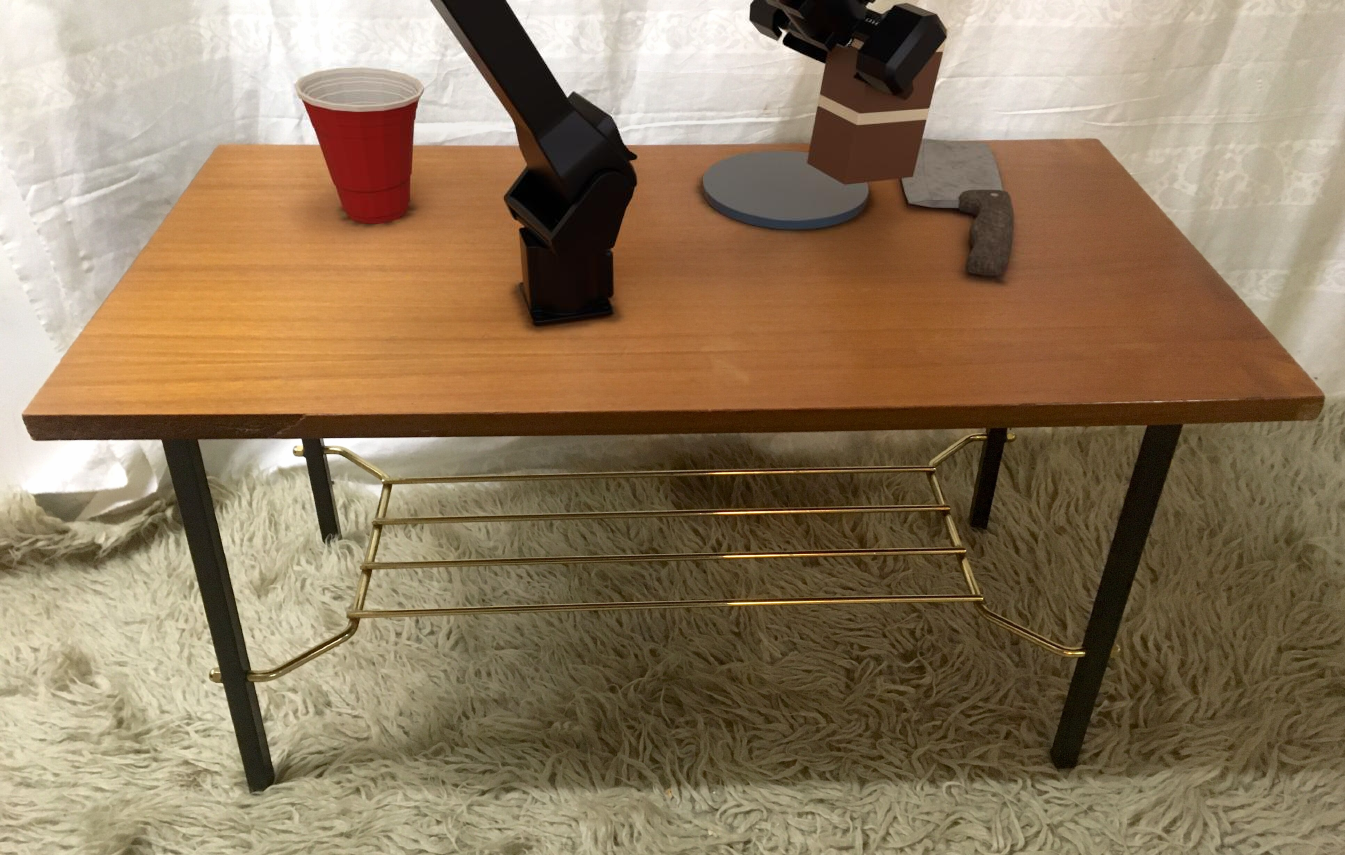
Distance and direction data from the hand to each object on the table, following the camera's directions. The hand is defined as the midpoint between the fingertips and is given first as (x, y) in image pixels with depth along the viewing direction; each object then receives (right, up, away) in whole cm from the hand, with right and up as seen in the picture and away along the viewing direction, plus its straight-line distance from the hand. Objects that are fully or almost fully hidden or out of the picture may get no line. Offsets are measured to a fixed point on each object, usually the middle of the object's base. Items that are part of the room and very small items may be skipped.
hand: (886, 84), depth 92 cm
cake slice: (-2, -6, +4) cm, 8 cm away
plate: (-8, -7, +11) cm, 15 cm away
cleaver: (+9, -9, +10) cm, 16 cm away
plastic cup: (-46, -10, +7) cm, 47 cm away
